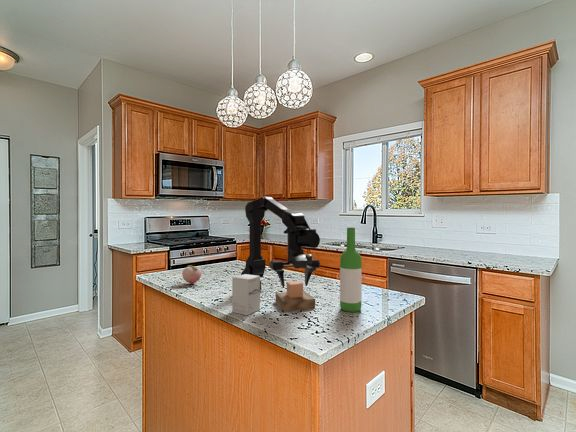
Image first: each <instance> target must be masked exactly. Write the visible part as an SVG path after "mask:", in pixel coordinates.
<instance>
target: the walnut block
mask: <svg viewBox="0 0 576 432" xmlns="http://www.w3.org/2000/svg"><path fill="white" fill-rule="evenodd" d="M275 303H276V304H277V305H278V306H279V307H280V309H281V310H282V311H283V312H288V311H289V312H290V311H291V312H292V311H300V310H311V309H316V298H315V297H313V296H312V295H311V294H309V293H308V292H306V291H305V290H303V297H296V298H290V297H289V296H288V295H287V291H285V292H284V291H283V292H275Z"/></svg>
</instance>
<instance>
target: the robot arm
mask: <svg viewBox="0 0 576 432" xmlns="http://www.w3.org/2000/svg"><path fill="white" fill-rule="evenodd" d="M244 211H245V217H246V219H247V221H248V223H249V255H248V257H247V259H246V261H245V267H244V268H243V270H242V271H241V273H240V275H244V274H249V275H257V276H260V278H263V277H264V275H265V271H266V269H267V267H266V263H267V262H266V259H265V258H263V256H262V222H263V219H264V218H265V215H266V214H265V213H266V212H267V211H270V212H271V213H273V214H274V215H275V216H276V217H278V218H280V219H281V223H282V224H283V225H284V227H286V229H285V230H284V231H283V234H284V235H287V244H286V245H287V247H286V251H287V254H286V255H287V256H286V257H287V258H286V261H282V260H280V259H277V260H276V259H275V260H270V262H269V268H270V269H271V270H273V271H274V272H276V273H277V275H278V279H279V282H280V284H281V287H282V288H285V275H284V273H285V271H284V270H285V269H284V268H292V267H293V268H295V269H298V270H299V269H304V285H305V286H306V287H307V286H308V285H309V283H310V282H309V281H310V279H311V276H312V274H313V273H314V271H317V269H318V268H319V269H320V268H321V262H320V260H319V259H316V258H313V255H312V254H311V253H309V254H305V252H304V249H303V248H308V249H309V248H310V249H317V248H318V247H319V245H320V243H321V242H320V241H321V238H320V235H319V234H318V232H317V229H316V228H315V229H314V228H313V229H311V228H310V226H309V223H308V222H307V219H305V217H306V216H305V214H303V213H302V212H300V211H295V210H292V209H289V208H287V207H286V206H284V205H283V204H282V203H280V202H279V201H277V200H275V199H274V198H273V197H271V196H262V197H260V198H258V199H255V200H252V201H248V202H247V203H246V205H245V207H244ZM261 293H262V281H261V280H260V294H261Z"/></svg>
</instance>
